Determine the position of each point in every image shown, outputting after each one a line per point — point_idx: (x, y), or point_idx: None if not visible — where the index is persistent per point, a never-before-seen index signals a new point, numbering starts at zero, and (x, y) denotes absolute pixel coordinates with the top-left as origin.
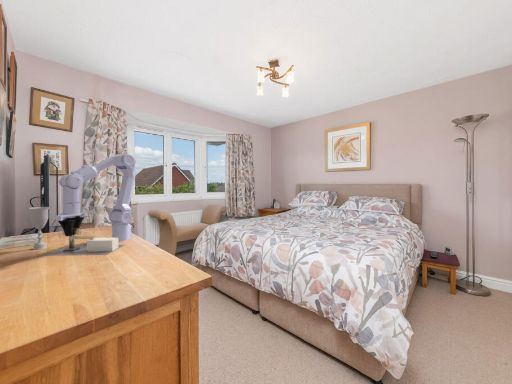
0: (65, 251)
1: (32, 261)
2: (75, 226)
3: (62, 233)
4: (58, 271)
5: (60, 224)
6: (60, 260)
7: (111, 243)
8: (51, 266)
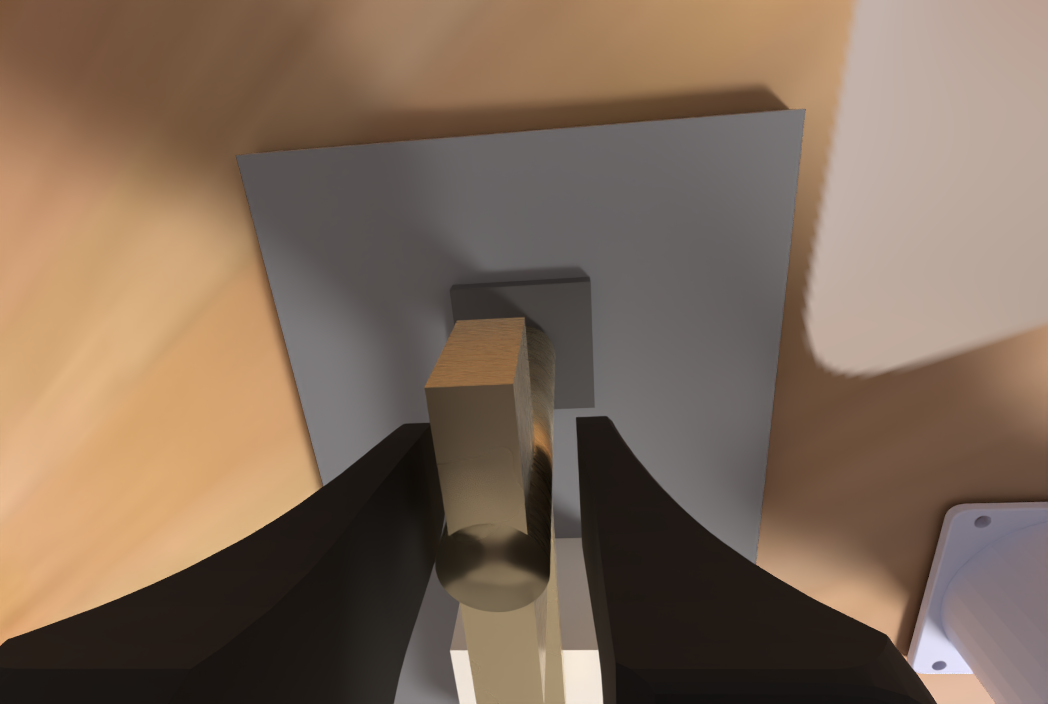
0: (446, 320)
1: (133, 154)
2: (597, 621)
3: (452, 333)
4: (36, 584)
5: (148, 594)
6: (241, 423)
7: None
8: (91, 466)
